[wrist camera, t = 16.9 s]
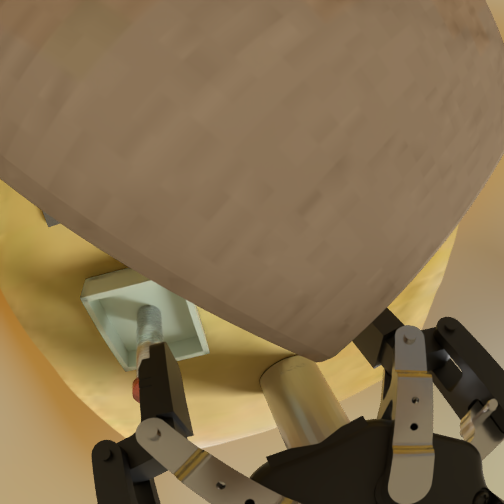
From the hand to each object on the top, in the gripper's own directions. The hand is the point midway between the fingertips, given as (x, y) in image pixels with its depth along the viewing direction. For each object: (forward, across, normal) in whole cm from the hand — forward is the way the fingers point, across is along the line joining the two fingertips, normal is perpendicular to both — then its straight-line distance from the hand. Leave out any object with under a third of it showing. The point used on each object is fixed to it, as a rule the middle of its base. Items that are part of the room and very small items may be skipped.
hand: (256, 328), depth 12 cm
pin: (+14, +8, +9) cm, 19 cm away
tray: (+15, +8, +9) cm, 19 cm away
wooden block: (+15, -2, -11) cm, 18 cm away
